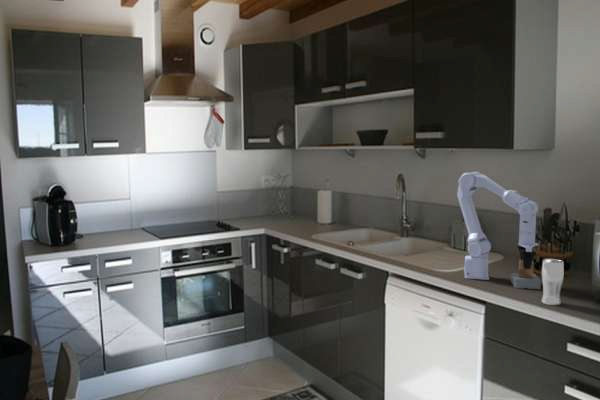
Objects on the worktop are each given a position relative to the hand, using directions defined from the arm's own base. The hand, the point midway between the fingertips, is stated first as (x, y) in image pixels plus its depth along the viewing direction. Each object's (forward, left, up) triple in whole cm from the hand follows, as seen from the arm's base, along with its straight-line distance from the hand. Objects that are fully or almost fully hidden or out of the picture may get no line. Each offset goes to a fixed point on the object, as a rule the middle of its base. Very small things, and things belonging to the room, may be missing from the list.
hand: (525, 266), depth 201 cm
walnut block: (0, 0, -4) cm, 4 cm away
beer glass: (+6, -21, -8) cm, 23 cm away
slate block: (0, 0, -8) cm, 8 cm away
